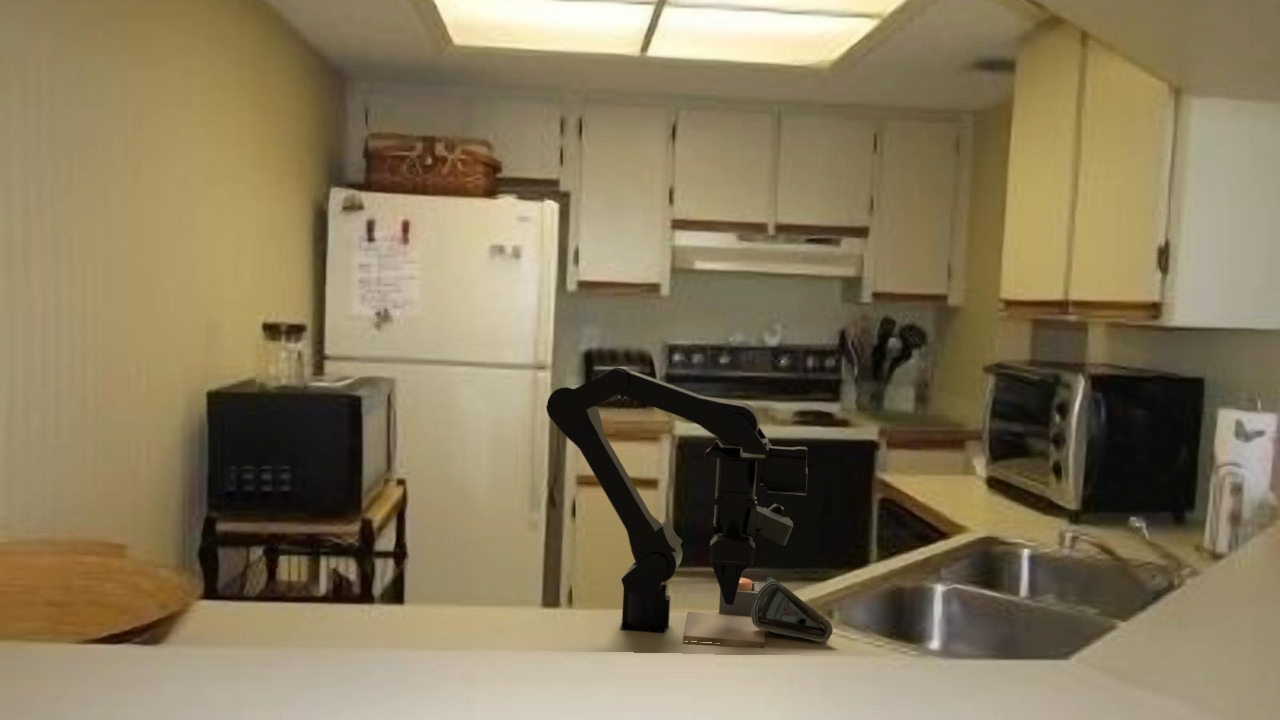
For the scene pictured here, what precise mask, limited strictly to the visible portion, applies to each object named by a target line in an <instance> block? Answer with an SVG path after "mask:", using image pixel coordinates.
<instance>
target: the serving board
mask: <svg viewBox="0 0 1280 720" xmlns="http://www.w3.org/2000/svg"><path fill="white" fill-rule="evenodd" d="M683 629H684V631H683V635H682V642H683V641H688V642H691V641H697V642H712V643H720V644H727V645H726V646H736V645H739V646H740V647H752V646H759V647H758V648H765V647H766V645H765V644H766V638H765V631H764V630H763V629H759V628H757V627H756V626H755V625H753V623H752V617H748V616H736V615H723V614H719V613H710V612H709V613H708V612H697V611H687V614H686V619H685V624H684V628H683ZM688 642H687V643H688ZM720 644H719V645H720Z"/></svg>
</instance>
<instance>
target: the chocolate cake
mask: <svg viewBox="0 0 1280 720" xmlns="http://www.w3.org/2000/svg"><path fill="white" fill-rule="evenodd" d="M752 607H753V608H752V613H751V616H752V623H753V625H755V626H756V627H757V628H759V629H763V630H764V632H766V631H769V632H771V633H776V634H781V635H786V636H789V637H790V636H791V637H795V638H801V639H805V640H811V641H815V642H818V643H825V642H827V641H829V640H830V638H831V636H832V635H833V632H834V631H833V630H834V629H833V626H832V623H831V622H830V620H828V619H827V618H826V617H825V616H824V615H822V614H820V613H818V612H817V611H816V610H815V609H814V608H813V607H812V606H810V605H808V604H807V602H805V601H803V599H801V598H800V597H798V595H796V594H795V593H793V592H792V591H791V590H790V589H789V588H787V587H786V586H784V585H783V584H781V583H780V582H779V581H778V580H776V579H775V578H774V577H772V576H767V577H766V580H765V584H764V585H763V586H762V587H761V588H759V592H758V593H757V595H756V598H755V600H754V602H753V606H752Z"/></svg>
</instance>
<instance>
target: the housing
mask: <svg viewBox="0 0 1280 720" xmlns="http://www.w3.org/2000/svg"><path fill="white" fill-rule="evenodd" d="M759 583H760V582H758V581H752V591H742V590H737V592H736V596H735V600H734V604H733V605H727V604H725V601H724V598H723V595H722V592H721V589H720V588H719V609H718V614H723V615H736V616H748V617H752V616H751V613H752V608H753V607H752V606H753V602H754V600H755V598H756V595H757V593H758V592H759V591H760V584H759Z"/></svg>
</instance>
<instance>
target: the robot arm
mask: <svg viewBox="0 0 1280 720" xmlns="http://www.w3.org/2000/svg"><path fill="white" fill-rule="evenodd" d="M618 396H623V397H625V398H628V399H631V400H633V401H636V402H640V403H641V404H645V405H647V406H650V407H653V408H654V409H658V410H661V411H664V412H667V413H669V414H672V415H675V416H678V417H681V418H683V419H686V420H688V421H691V422H693V423H694V424H697V425H698V426H700V427H701V428H702V429H704V430H706V432H708V433H709V434H712V435H714V436H715V437H716V438H718V439H720V440H722V441H723V442H725V443H727V444H730V446H729V445H728V446H727V445H723V444H722V443H721V442H720V440H718V439H716V440H715V441H714V442H713V445H712V446H711V447H710V448H708V449H707V450H706V451H705V452H704V453H703V457H704V458H710V459H717V461H716V478H715V479H716V480H715V481H716V483H715V495H714V515H713V517H714V518H713V523H712V535H713V537H712V538H711V539H710V543H709V556H708V557H709V558H708V560H709V562H710V564H711V566H712V569H713V571H714V572H713V573H714V574H715V577H716V580H717V581H716V582H717V583H718V585H719V590H720V589H721V592H722V595H723V598H724V601H725V604H727V605H733V604H734V600H735V596H736V592H737V589H738V585H739V581H740V578H742V573H744V571H746V569H749V567H752V565H754V563H755V557H756V543H755V542H754V541H753V539H754V538H756V534H759V535H760V536H763V537H765V538H767V539H769V540H772V541H774V542H775V544H778V545H781V546H786V544H787V542H788V540H789V538H790V534H792V533H791V532H792V530H793V527H794V523H793V521H792V520H791V519H790V517H788V516H787V517H786V516H785V508H784V506H781V505H779V504H777V503H774V504H772V505H771V506H770V507H769V508H767V507H765V506H764V507H762V506H759V505H758V501H757V500H758V499H757V498H758V497H757V496H756V482H757V481H756V480H757V464H758V463H757V462H760V471H759V475H760V476H759V485H760V486H761V485H762V486H763V488H766V491H767V493H774V494H777V493H778V494H785V495H787V494H788V495H801V496H807V487H808V473H809V472H808V470H809V469H808V467H807V463H808V448H807V447H806V446H795V447H787V446H772V443H771V442H770V441H769V438H768V437H767V436H766V435H765V434H764V432H763V430H762V429H761V427H760V423H761V422H760V421H761V420H760V416H759V414H758V411H757V409H756V408H755V407H754V406H753V405H751V404H750V403H747V402H744V401H738V400H732V399H726V398H719V397H718V398H717V397H710V396H704V395H702V394H698V393H695V392H693V391H690V390H687V389H684V388H682V387H678V386H676V385H672V384H671V383H667V382H666V381H665V382H664V381H662V380H659V379H656V378H654V377H650V376H648V375H645V374H643V373H640V372H636V371H635V370H632V369H631V368H629V367H628V366H619V367H614V368H612V369H610V370H609V371H608V372H607V373H605V374H602V375H601V376H598V377H597V378H594V379H593V380H590V381H588V382H586V383H583V384H570V385H567V386H562V387H560V388H559V387H558V388H557V389H555V390H554V391H552V393H551V394H550V395H549V397H548V399H547V402H546V403H547V404H546V412H547V416H548V417H549V419H550V420H551V421H552V422H553V423H554V425H555V426H556V427H557V428H558V429H559V431H560V432H561V433H562V434H563V435H564V436H565V437H566V438H567V439H568V440H570V442H571V443H573V444H574V445H575V446H576V447H577V448H578V449H579V451H580V452H581V454H582V455H583V457H584V459H585V461H586V463H587V464H588V466H589V468H590V469H591V471H592V472H593V474H594V477H595V478H596V480H597V481H598V483H599V485H600V487H601V488H602V490H603V492H604V494H605V495H606V497H607V499H608V501H609V503H610V505H611V506H612V508H613V509H614V510H615V512H616V514H617V516H618V517H619V520H620V522H621V523H622V524H623V527H624V528H625V530H626V533H627V537H628V541H629V542H628V543H629V546H630V550H631V554H632V556H633V559H634V562H633V563H632V565H631V566H630V567H629V568H628V570H627V571H626V572H625V573H624V575H623V576H622V578H621V579H620V580H621V583H622V587H623V593H622V594H623V597H622V613H621V624H620V626H619V630H621V631H627V632H628V631H629V632H642V633H654V634H664V632H665V631H666V628H668V627H669V626H670V618H671V617H670V614H671V600H672V599H671V597H672V596H671V595H669V594H668V584H666V583H665V582H668V581H669V580H670V579H671V578H672V577H673V576H674V574H675V573H676V571H677V569H678V568H679V566H680V564H681V561H682V558H683V549H682V547H681V544H682V542H683V540H682V538H681V537H680V536H678V535H677V532H676V531H675V530H674V527H673V524H672V522H671V520H670V519H669V518H666V519H665V520H664V521H663V522H661V521H659V520H658V519H657V518H656V517H655V516H654V515H653V514H652V513H651V512H650V510H649V509H648V507H647V505H646V503H645V502H644V500H643V498H642V496H641V495H640V493H639V491H638V490H637V488H636V486H635V484H634V483H633V481H632V479H631V478H630V476H629V474H628V473H627V470H626V469H625V467H624V466H623V463H622V462H621V460H620V459H619V457H618V455H617V454H616V452H615V450H614V448H613V446H612V445H611V443H610V442H609V441H610V440H608V438H607V436H606V435H605V432H604V428H603V424H602V419H601V414H600V412H599V408H598V406H599V405H601V404H604V403H606V402H608V401H610V400H612V399H613V398H615V397H618ZM740 446H741V447H740ZM743 448H744V449H745V450H747V451H748V452H749V453H745V452H743ZM663 583H665V584H663Z"/></svg>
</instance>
